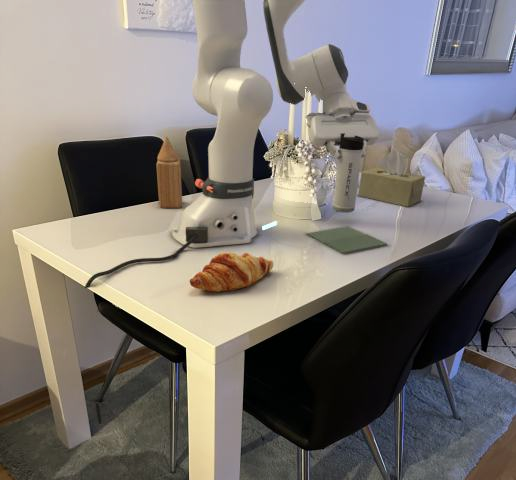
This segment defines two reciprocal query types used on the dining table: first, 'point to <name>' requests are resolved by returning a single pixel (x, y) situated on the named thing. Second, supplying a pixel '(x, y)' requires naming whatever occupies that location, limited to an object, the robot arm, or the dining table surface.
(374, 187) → the tissue box
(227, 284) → the croissant
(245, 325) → the dining table surface
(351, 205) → the travel mug
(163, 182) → the decorative item
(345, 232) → the napkin
